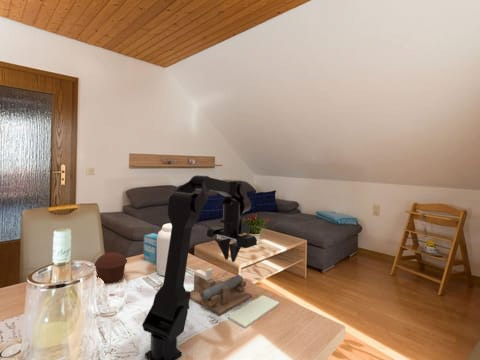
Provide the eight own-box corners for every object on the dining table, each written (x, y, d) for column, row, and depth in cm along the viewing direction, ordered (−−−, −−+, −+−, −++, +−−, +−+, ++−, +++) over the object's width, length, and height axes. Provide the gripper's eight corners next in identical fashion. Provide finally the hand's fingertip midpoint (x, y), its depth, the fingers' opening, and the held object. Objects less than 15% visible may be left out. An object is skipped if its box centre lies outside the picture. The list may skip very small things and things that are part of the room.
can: (171, 280, 105) (172, 230, 103) (150, 272, 112) (150, 225, 110) (192, 269, 116) (194, 224, 114) (172, 262, 122) (173, 219, 121)
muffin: (87, 282, 101) (87, 256, 100) (110, 270, 111) (110, 247, 111) (112, 287, 97) (112, 261, 96) (133, 275, 108) (133, 251, 107)
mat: (279, 304, 90) (279, 302, 90) (245, 328, 76) (245, 326, 76) (262, 296, 95) (262, 295, 95) (227, 318, 81) (227, 316, 81)
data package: (143, 259, 125) (143, 234, 124) (151, 256, 129) (151, 232, 128) (161, 265, 118) (161, 239, 118) (168, 262, 122) (169, 237, 121)
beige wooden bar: (212, 278, 93) (212, 269, 92) (207, 280, 91) (207, 270, 91) (199, 272, 97) (199, 263, 97) (194, 274, 95) (194, 265, 95)
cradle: (252, 297, 94) (252, 279, 94) (219, 316, 82) (219, 296, 81) (218, 281, 105) (219, 265, 105) (184, 296, 93) (185, 278, 92)
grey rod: (244, 283, 97) (245, 275, 97) (207, 302, 84) (207, 293, 84) (238, 281, 100) (238, 272, 99) (200, 299, 86) (200, 289, 86)
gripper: (267, 217, 92) (265, 261, 93) (228, 209, 104) (226, 248, 105) (246, 222, 83) (244, 271, 84) (206, 213, 95) (205, 255, 97)
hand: (230, 260), depth 93 cm, fingers open, 3 cm apart
